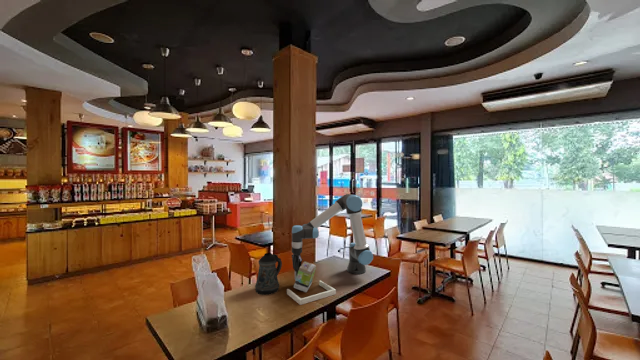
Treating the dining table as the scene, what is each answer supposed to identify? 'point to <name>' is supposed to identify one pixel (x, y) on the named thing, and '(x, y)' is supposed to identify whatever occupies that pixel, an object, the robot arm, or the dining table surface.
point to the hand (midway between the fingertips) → (296, 279)
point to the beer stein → (268, 274)
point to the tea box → (305, 276)
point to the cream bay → (314, 297)
